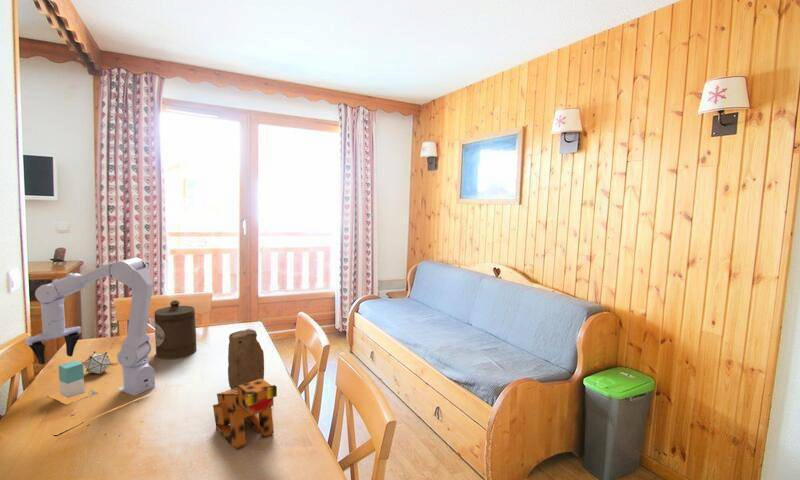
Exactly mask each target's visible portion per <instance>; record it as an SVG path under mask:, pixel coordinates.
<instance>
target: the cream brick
mask: <svg viewBox="0 0 800 480" xmlns="http://www.w3.org/2000/svg"><path fill="white" fill-rule="evenodd" d="M84 378H85V377H84ZM84 378H83V379H80V380H77V381H74V382H71V383H68V384H66V383H64V382H61V381H60V380H59V391H60V394H61V395H63V396H65V397H67V398H70V397H73V396H76V395H79V394H83V393H85V391H84V387H85V379H84Z"/></svg>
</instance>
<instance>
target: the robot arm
mask: <svg viewBox="0 0 800 480" xmlns="http://www.w3.org/2000/svg"><path fill="white" fill-rule="evenodd" d="M148 269H149V265H148V263H146V262H145V261H144V260H143V259H141V258H139V257H137V256H136V257H135V256H134V257H131V258H127V259H122V260H118V261H113V262H110V263H107V264H104V265H103V264H102V265H101V266H99V267H96V268H94V269H92V270H89V271H88V272H85V273H83V274H81V273H78V272H75V273H73V272H70V273H67V274H65V277H62V278H60V279H58V278H56V279H54V280H52V282H51V283H47V284H42V285H40V286H39V287H37V288H36V289H35V291H34V292H35V293H34V296H35V298H36V300H37V301H38V302H40V310H41V312H40V313H41V323H42V324H41V326H42V327H41V329H42V333H40V334H39V333H38V334H37V335H34V336H33V335H32V336H30V337H27V338H24V342H25V345H26V346H28V347H29V348H30V349H31V350H32V352H33V353H34V355H35V356H36V358H37V361H38V364H39V365H45V364H46V358H45V349H46V345H45V344H44V343H43V342H46V341H50V340H55V339H58V338H63V337H64V341H65V346H66V347H65V349H66V356H67V357H71V358H72V357H73V355H74V350H75V347H76V345H77V343H78V341H79V340H80V337H81V336H80V335H81V333H82V331H83V330H82V326H79V325H78V326H73V327H67V328H66V318H65V317H66V315H65V314H66V313H65V301H66V297H67V296H70V295H72V294H74V293H78V292H79V291H83V290H84V289H86V287H87V285H88V284H89V283H91V282H94V281H96V280H99V279H103V278H105V277H107V278H109V279H110V278H111V279H112V278H113V279H115V280H116V281H118V282H120V283H121V284H124V285H125V286H128V287H129V288H130V289H131V290H132V294H131V304H130V310H129V317H128V318H129V319H128V326H127V334H126V337H125V338H124V340H123V343H122V344H121V348H120V350H119V352H118V353H117V355H116V359H117V362H118V364H119V365H121V367H122V385H123V386H121V387H118V388H117V390H119V391H121V392H123V393H126V394H129V395H132V396H137V395H139V394H141V393H143V392H147V391H148V390H151V389H153V388H155V387H158V385H157V384H156V378H155V369H154V367H152V366H151V365H150V364H149V355H150V353H151V351H152V345H151V343H150V342H151V341H150V336H149V335H147V331H148V322H149V315H150V308H151V307H150V306H151V301H152V300H151V299H152V294H153V293H152V292H153V284H154V283H153V281H152V278H151V275H150V273H149V271H148Z"/></svg>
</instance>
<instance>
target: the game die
mask: <svg viewBox="0 0 800 480" xmlns="http://www.w3.org/2000/svg"><path fill="white" fill-rule="evenodd" d="M107 353H108V351H105V353H102V352H101V353H100V352H99V353H98V352H96V351H95V350H93V354H92V355H89V357H88V358H87V359H85V361H84V362H81V363H83V366H85V367H84V368H86V370H85V372H86V373H87V372H88V374H89V373H90V374H91V373H95V374H94V375H100V374H101V375H102V373H103V372H104V371H106V369H108V368H109V367H110V366H113V365H114V363H111V361H110V359H109V357H110V356H109V355H107Z"/></svg>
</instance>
